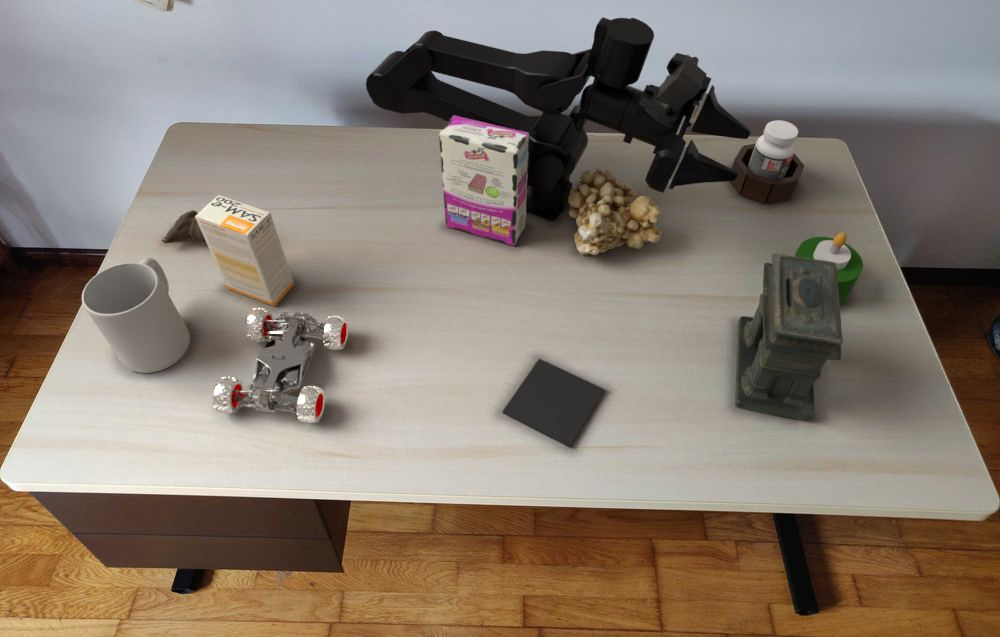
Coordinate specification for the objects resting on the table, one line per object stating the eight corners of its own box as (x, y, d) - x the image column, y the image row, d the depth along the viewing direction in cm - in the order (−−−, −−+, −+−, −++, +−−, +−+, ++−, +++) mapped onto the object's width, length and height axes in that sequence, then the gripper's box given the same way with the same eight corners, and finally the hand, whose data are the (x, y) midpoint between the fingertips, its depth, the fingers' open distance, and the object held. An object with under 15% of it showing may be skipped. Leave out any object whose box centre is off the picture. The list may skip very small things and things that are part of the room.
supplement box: (296, 284, 95) (272, 211, 85) (274, 308, 92) (248, 235, 82) (247, 265, 97) (218, 192, 87) (224, 288, 94) (192, 215, 84)
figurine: (162, 252, 100) (239, 258, 98) (147, 230, 96) (226, 235, 94) (181, 221, 104) (256, 226, 102) (168, 198, 100) (244, 203, 98)
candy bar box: (527, 225, 103) (531, 131, 90) (514, 247, 100) (517, 153, 87) (458, 206, 106) (453, 112, 93) (444, 227, 103) (437, 133, 90)
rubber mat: (502, 413, 82) (502, 411, 82) (538, 360, 87) (539, 358, 87) (570, 448, 79) (570, 446, 79) (604, 391, 84) (604, 389, 84)
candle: (771, 282, 96) (795, 228, 88) (808, 256, 99) (835, 202, 91) (822, 319, 92) (852, 266, 84) (859, 291, 95) (891, 237, 87)
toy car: (318, 431, 80) (309, 407, 76) (218, 419, 81) (204, 395, 77) (352, 330, 90) (345, 304, 86) (262, 321, 91) (251, 295, 87)
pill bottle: (781, 197, 107) (803, 143, 100) (743, 192, 108) (762, 138, 100) (779, 174, 111) (800, 120, 103) (743, 169, 112) (761, 115, 104)
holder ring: (721, 189, 108) (728, 169, 105) (741, 156, 114) (748, 135, 111) (783, 211, 105) (792, 191, 102) (801, 176, 111) (810, 155, 108)
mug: (178, 374, 85) (144, 317, 77) (109, 373, 85) (67, 315, 77) (207, 301, 93) (178, 241, 85) (143, 300, 93) (108, 240, 85)
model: (733, 322, 91) (768, 239, 80) (805, 334, 90) (851, 251, 79) (734, 410, 83) (773, 331, 71) (814, 424, 81) (866, 345, 70)
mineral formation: (575, 270, 97) (545, 196, 105) (660, 264, 101) (624, 193, 109) (592, 228, 91) (558, 154, 99) (681, 224, 95) (641, 152, 103)
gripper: (626, 95, 77) (760, 147, 75) (666, 19, 88) (784, 62, 87) (599, 171, 86) (718, 219, 84) (638, 93, 97) (745, 134, 95)
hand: (743, 155), depth 87 cm, fingers open, 9 cm apart
